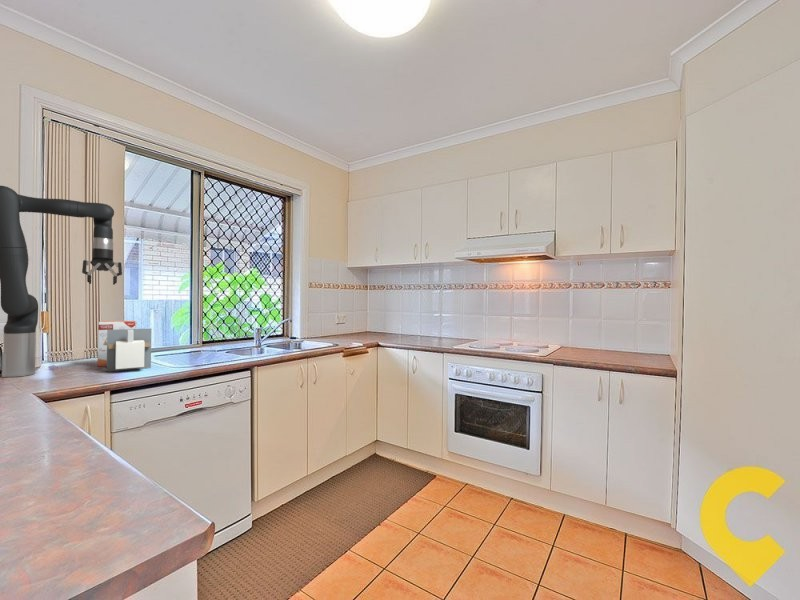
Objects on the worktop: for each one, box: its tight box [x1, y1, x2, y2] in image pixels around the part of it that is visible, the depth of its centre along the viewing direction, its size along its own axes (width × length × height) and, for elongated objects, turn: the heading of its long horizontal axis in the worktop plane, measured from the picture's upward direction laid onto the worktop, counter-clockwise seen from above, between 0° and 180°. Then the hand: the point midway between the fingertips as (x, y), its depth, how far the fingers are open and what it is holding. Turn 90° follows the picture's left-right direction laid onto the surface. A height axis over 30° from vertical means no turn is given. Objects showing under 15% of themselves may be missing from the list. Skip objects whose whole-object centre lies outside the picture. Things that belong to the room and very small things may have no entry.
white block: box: [115, 330, 145, 369], centre depth 165 cm, size 10×7×16 cm
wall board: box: [106, 328, 152, 373], centre depth 170 cm, size 16×8×18 cm, turn 128°
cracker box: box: [97, 320, 137, 368], centre depth 179 cm, size 14×6×21 cm, turn 121°
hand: (102, 284), depth 173 cm, fingers open, 8 cm apart
